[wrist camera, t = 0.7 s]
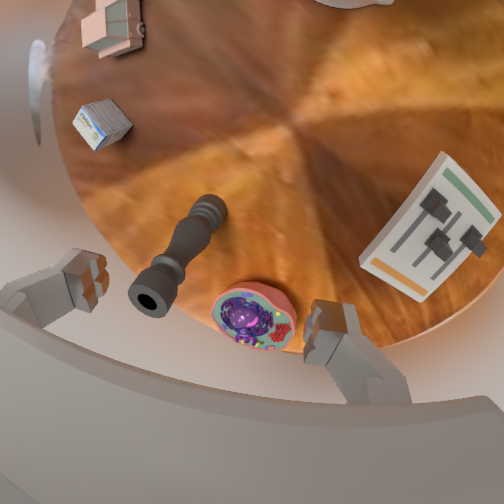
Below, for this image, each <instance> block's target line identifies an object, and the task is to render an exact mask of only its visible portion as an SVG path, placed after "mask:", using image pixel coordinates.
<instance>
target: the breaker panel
mask: <svg viewBox="0 0 504 504" xmlns="http://www.w3.org/2000/svg"><path fill="white" fill-rule="evenodd" d="M433 187H434V188H435V189H436V190H437V191H438V192H439V193H440V194H441V195H443V196H444V197H445V198H446V199H447V200H448V202H447V204H446V206H447V207H448V208H449V210H450V211H451V212H452V214H451V215H450V217H449V218H448V219H447V220H446V222H445V223H444V224H443V223H441V222H440V221H439V220H438V219H437V218H436V217H435V218H434V217H433V216H432V215H430V214H429V213H428V212H427V211H426V210H424V209H423V208H422V207H421V206H420V204H421V202H422V201H423V200H424V198H425V197H426V196H427V194H428V193H429V192H430V191H431V189H432V188H433ZM501 216H502V214H501V213H500V212H499V210H498V209H497V208H496V207H495V205H494V204H493V203H492V202H491V200H490V199H489V198H488V197H487V196H486V194H485V193H484V192H483V191H482V190H481V189H480V188H479V186H478V185H477V184H476V183H475V182H474V181H473V180H472V179H471V178H470V177H469V176H468V175H467V173H466V172H465V171H464V170H463V169H462V168H461V167H460V166H459V165H458V164H457V163H456V162H455V161H454V160H453V159H452V158H451V157H450V156H449V155H447V154H446V153H444V152H443V151H441V152H440V153H439V155H438V156H437V158H436V159H435V160H434V162H433V163H432V165H431V166H430V168H429V169H428V170H427V172H426V173H425V175H424V176H423V177H422V179H421V180H420V181H419V183H418V184H417V185H416V187H415V188H414V189H413V191H412V192H411V193H410V195H409V196H408V197H407V199H406V200H405V201H404V203H403V204H402V205H401V206H400V208H399V209H398V210H397V211H396V213H395V214H394V215H393V216H392V218H391V219H390V220H389V221H388V223H387V224H386V225H385V226H384V228H383V229H382V230H381V231H380V232H379V234H378V235H377V236H376V237H375V238H374V240H373V241H372V242H371V243H370V244H369V246H368V247H367V248H366V249H365V250H364V251H363V253H362V254H361V255H360V256H359V263H360V267H362V268H363V269H365V270H367V271H368V272H370V273H372V274H373V275H375V276H377V277H378V278H380V279H382V280H383V281H385V282H387V283H388V284H390V285H392V286H393V287H395V288H397V289H398V290H400V291H402V292H403V293H405V294H407V295H408V296H410V297H411V298H413V299H415V300H416V301H418V302H419V303H422V302H423V301H424V300H425V299H426V298H427V297H428V296H429V295H430V294H431V293H432V292H433V291H434V290H435V289H437V288H438V287H439V286H440V285H441V284H442V283H443V282H444V281H445V280H446V279H447V278H448V277H449V276H450V275H451V274H452V273H453V272H454V271H455V269H456V268H457V267H458V266H459V265H460V264H461V263H462V262H463V261H464V260H465V259H466V258H467V257H468V256H469V254H470V253H471V252H472V250H471V251H470V250H469V249H468V248H467V247H466V246H465V245H464V244H463V243H462V242H461V241H460V239H461V237H462V236H463V235H464V234H465V233H466V232H467V230H468V229H469V228H470V227H471V226H472V225H473V226H474V227H475V228H476V229H477V230H478V231H479V232H480V233H481V234H482V235H483V237H482V238H481V241H482V240H483V238H484V237H485V236H486V235H487V234H488V232H489V231H490V230H491V229H492V227H493V226H494V225H495V224H496V222H497V221H498V220H499V218H500V217H501ZM437 228H439V229H440V230H441V231H442V232H444V233H445V234H446V235H447V236H448V237H449V238H450V239H451V240H450V241H449V242H448V244H449V246H450V247H451V249H452V251H453V254H452V255H451V256H450V257H449V259H448V260H447V261H446V262H444V261H443V260H441V259H440V258H439V257H438V256H436V255H435V253H434V251H432V250H431V249H430V248H429V247H427V246H426V245H425V244H424V243H425V242H426V241H427V239H428V238H429V237H430V236H431V235H432V234H433V232H434V231H435V230H436V229H437Z"/></svg>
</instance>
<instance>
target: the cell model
mask: <svg viewBox="0 0 504 504" xmlns="http://www.w3.org/2000/svg"><path fill="white" fill-rule="evenodd" d="M210 315H211V318H212V320H213V321H214V323H215V324H216V325H217V327H218V329H219V330H220V331H221V332H222V333H223V334H224V335H226V336H227V337H229V338H230V339H232V340H233V341H235V342H236V343H239V344H241V345H244V346H247V347H249V348H252V349H255V350H258V351H278V350H282V349H284V348H286V347H287V346H288V344H289V343H290V342H291V340H292V339H293V337H294V336H295V330H296V321H297V314H296V311H295V309H294V307H293V306H292V304H291V303H290V301H289V299H288V298H287V297H286V295H285V294H284V293H283V292H282V291H280V290H279V289H277V288H274V287H271V286H268V285H266V284H263V283H261V282H257V281H253V282H241V283H238V284H236V285H233V286H231V287H228V288H227V289H226V290H225V291H224V292H222V293H221V294H220V295H219V296H217V297H216V299H215V301H214V304H213V306H212V308H211V309H210Z"/></svg>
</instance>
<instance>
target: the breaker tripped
mask: <svg viewBox="0 0 504 504" xmlns="http://www.w3.org/2000/svg"><path fill="white" fill-rule="evenodd" d="M450 240H451V239H450V238H449V237H448V236H447V235H446V234H445V233H444V232H442V231H441V230H440V229H439V228H437V229H436V230H435V231H434V232H433V234H432V235H431V236H430V237H429V238H428V239H427V241H426V242H425V243H424V244H425V245H426V246H427V247H429V248H430V249H431V250H432V251H434V253H435V255H436V256H438V257H439V258H440V259H441V260H443V261H444V262H446V261H447V260H448V259H449V257H450V256H451V255H452V254H453V251H452V249H451V247H450V246H449V244H448V242H449V241H450Z"/></svg>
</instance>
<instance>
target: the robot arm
mask: <svg viewBox="0 0 504 504" xmlns="http://www.w3.org/2000/svg"><path fill="white" fill-rule="evenodd" d="M315 1H317V2H319V3H322V4H325V5H328V6H331V7H336V8H345V9H351V8H359V7H363V6H367V5H370V4H380V5H391V4H393V2H394V0H315ZM106 265H107V262H106V257H104V256H103V255H100V254H97V253H93V252H90V251H86V250H82V249H78V248H73V249H72V250H71V251H69V253H67V254H66V255H65V256H64V257H63V258H62V259H61V260H60V261H59V262H58V263H57V264H56V265H54V266H53V267H52V268H50V267H49V268H46V269H44V270H41V271H38V272H35V273H33V274H30V275H28V276H25V277H22V278H20V279H18V280H15V281H12V282H10V283H7V284H6V285H5V286H4V287H3V288H2V289H1V290H0V504H504V412H503V411H502V410H501V409H500V408H499V407H498V406H497V405H496V404H495V403H494V402H493V401H492V400H491V399H490V398H488V397H487V396H474V397H468V398H462V399H455V400H448V401H440V402H429V403H416V404H412V401H411V397H410V392H409V389H408V385H407V381H406V377H405V376H404V375H403V374H402V373H401V372H400V371H399V370H398V369H397V368H396V367H395V366H394V365H393V364H392V362H391V361H390V360H388V359H387V357H386V356H385V355H384V354H383V353H382V352H381V351H380V350H379V349H378V348H377V347H376V346H375V345H374V344H373V343H372V342H371V341H370V340H369V339H368V338H367V337H366V336H362V332H361V328H360V324H359V320H358V316H357V312H356V308H355V306H354V305H353V304H348V303H338V302H331V301H325V300H319V299H314V301H313V303H312V305H311V314H310V315H308V316H307V319H306V321H305V325H304V330H303V340H304V342H305V343H306V344H305V347H304V349H303V354H304V363H305V364H313V365H319V366H326V369H327V371H328V372H329V374H330V375H331V377H332V378H333V380H334V381H335V383H336V385H337V386H338V388H339V389H340V391H341V392H342V394H343V395H344V397H345V398H346V400H347V403H346V404H326V403H325V404H324V403H312V402H300V401H291V400H283V399H274V398H267V397H261V396H254V395H248V394H242V393H236V392H231V391H226V390H221V389H216V388H211V387H207V386H203V385H198V384H194V383H190V382H186V381H182V380H178V379H174V378H170V377H167V376H163V375H160V374H157V373H153V372H150V371H147V370H143V369H141V368H137V367H134V366H131V365H128V364H126V363H122V362H120V361H117V360H114V359H111V358H109V357H106V356H103V355H101V354H98V353H96V352H93V351H91V350H88V349H86V348H83V347H81V346H78V345H76V344H74V343H72V342H69V341H67V340H65V339H63V338H60V337H58V336H56V335H54V334H52V333H50V332H48V331H46V330H44V329H42V328H44V327H46V326H47V325H49V324H50V323H52V322H54V321H55V320H57V319H59V318H60V317H62V316H64V315H65V314H67V313H68V312H70V311H72V310H73V309H74V308H76V309H79V310H83V311H86V312H88V313H91V312H92V310H93V309H94V308H95V306H96V305H97V303H98V298H99V297H101V296H103V295H104V294H105V293H106V291H107V289H108V286H109V274H108V272H107V271H106V270H105V267H106Z"/></svg>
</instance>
